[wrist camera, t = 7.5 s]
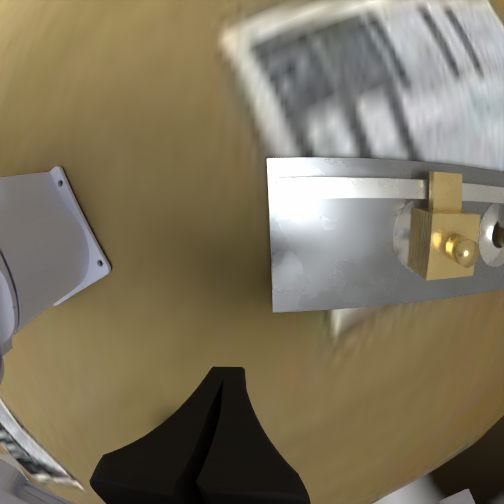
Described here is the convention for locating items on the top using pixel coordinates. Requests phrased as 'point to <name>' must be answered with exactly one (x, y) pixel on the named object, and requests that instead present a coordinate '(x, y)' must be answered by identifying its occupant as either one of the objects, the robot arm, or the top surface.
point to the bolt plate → (368, 232)
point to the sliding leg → (443, 232)
